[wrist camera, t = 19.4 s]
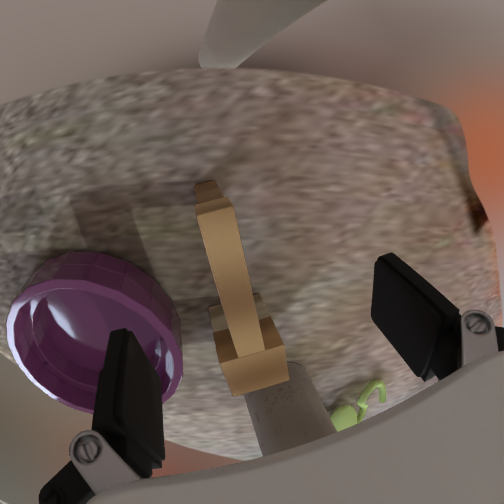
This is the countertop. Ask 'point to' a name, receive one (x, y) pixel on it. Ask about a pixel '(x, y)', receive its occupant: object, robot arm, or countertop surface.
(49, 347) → the bowl
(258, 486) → the robot arm
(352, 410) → the figurine
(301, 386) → the thermos bottle
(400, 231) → the countertop surface
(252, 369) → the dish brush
